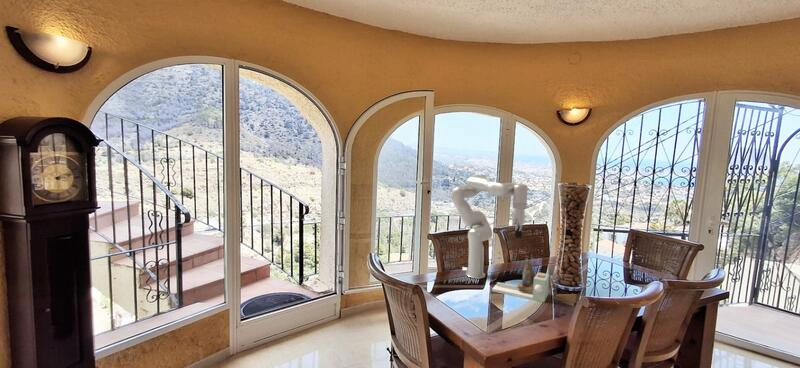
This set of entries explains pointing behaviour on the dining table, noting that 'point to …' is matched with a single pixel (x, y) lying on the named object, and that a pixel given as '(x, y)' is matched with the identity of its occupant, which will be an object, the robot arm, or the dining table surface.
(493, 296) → the dining table surface
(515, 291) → the rail base
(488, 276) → the dining table surface
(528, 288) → the carriage
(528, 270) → the worn brown figurine
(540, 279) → the gauge cabinet
